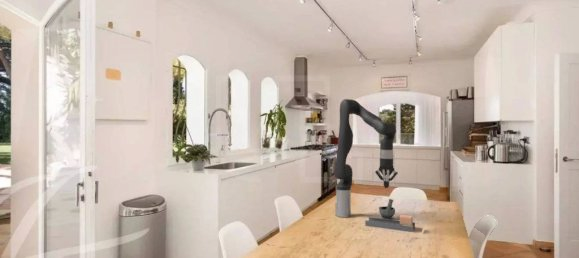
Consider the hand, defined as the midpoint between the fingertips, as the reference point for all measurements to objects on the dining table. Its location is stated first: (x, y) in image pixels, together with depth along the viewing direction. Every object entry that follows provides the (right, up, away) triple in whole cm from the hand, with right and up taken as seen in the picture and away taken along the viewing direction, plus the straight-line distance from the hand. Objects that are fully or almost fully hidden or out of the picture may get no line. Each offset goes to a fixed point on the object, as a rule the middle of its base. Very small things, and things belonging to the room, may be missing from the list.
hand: (386, 187), depth 197 cm
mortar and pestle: (+6, -23, +19) cm, 30 cm away
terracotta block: (+10, -22, -5) cm, 25 cm away
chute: (+2, -23, -1) cm, 23 cm away
